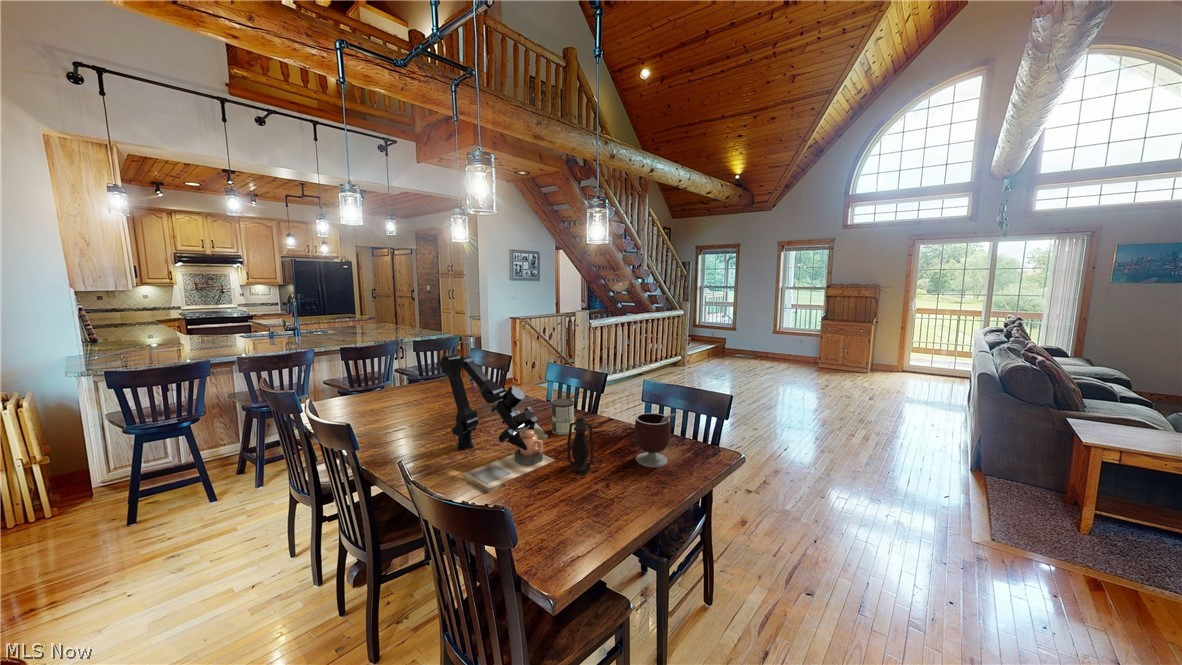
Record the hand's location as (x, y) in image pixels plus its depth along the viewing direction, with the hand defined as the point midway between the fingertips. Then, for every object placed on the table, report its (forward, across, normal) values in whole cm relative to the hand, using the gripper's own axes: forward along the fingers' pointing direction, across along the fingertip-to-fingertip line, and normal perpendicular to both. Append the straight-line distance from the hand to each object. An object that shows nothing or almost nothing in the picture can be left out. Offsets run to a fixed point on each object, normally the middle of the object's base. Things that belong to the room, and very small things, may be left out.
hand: (531, 446), depth 162 cm
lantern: (+18, +4, -8) cm, 20 cm away
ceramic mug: (-4, +20, +14) cm, 25 cm away
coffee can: (0, +35, +10) cm, 36 cm away
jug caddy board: (+2, -8, +7) cm, 11 cm away
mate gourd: (+33, +25, -24) cm, 48 cm away
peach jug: (+4, 0, +4) cm, 5 cm away
